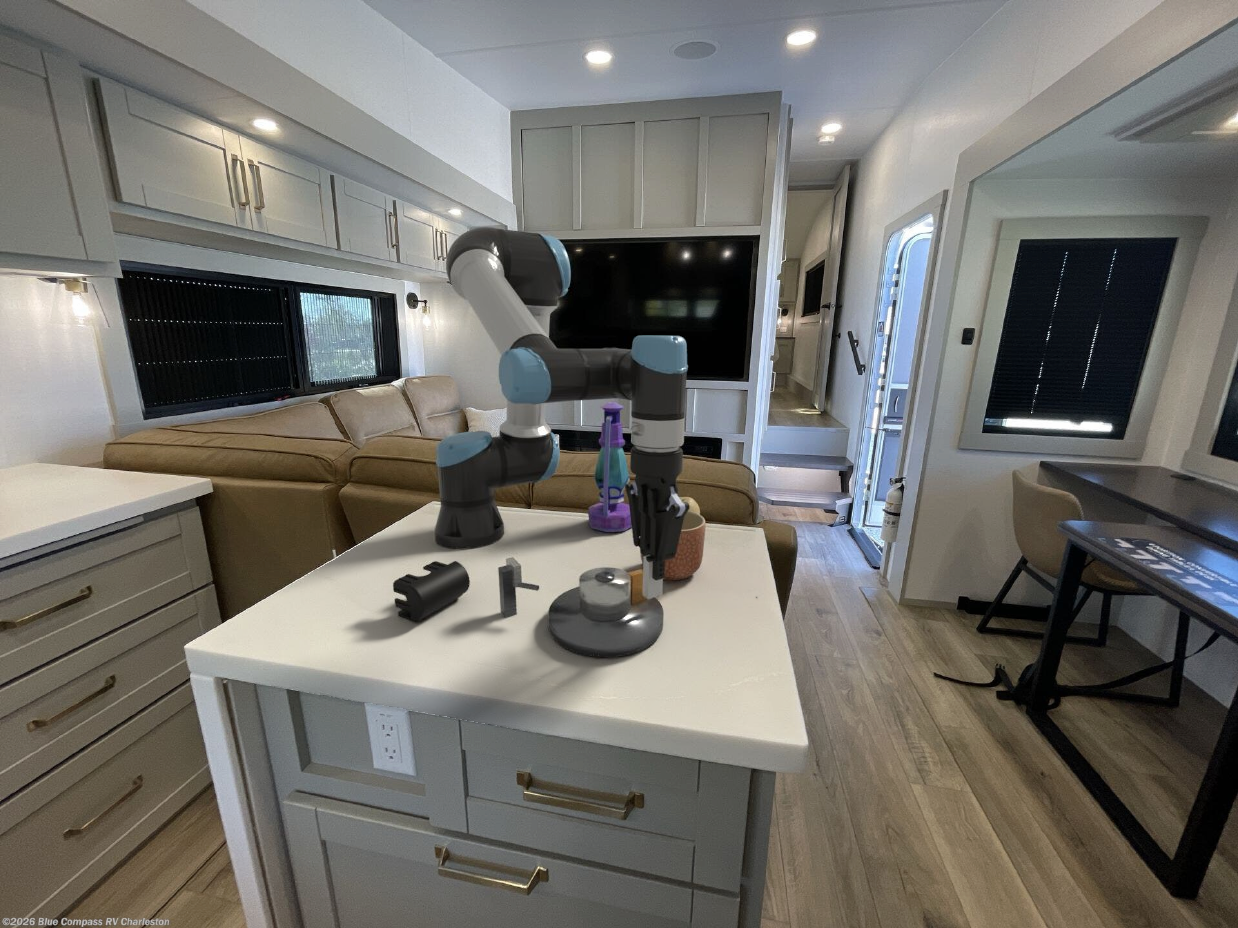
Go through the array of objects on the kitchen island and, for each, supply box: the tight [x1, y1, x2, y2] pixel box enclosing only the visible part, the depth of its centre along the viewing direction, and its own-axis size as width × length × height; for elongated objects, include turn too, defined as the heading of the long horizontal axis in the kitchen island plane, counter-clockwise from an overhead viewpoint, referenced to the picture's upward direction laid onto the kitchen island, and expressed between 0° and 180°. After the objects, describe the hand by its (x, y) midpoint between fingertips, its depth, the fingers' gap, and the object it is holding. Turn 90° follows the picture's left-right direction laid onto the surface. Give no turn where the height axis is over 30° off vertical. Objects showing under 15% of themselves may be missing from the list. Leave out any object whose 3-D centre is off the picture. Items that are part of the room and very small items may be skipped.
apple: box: [678, 496, 701, 515], centre depth 118 cm, size 8×8×8 cm
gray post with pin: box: [497, 556, 540, 618], centre depth 79 cm, size 6×5×9 cm
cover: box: [578, 566, 631, 621], centre depth 77 cm, size 8×8×5 cm
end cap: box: [392, 560, 471, 623], centre depth 81 cm, size 10×7×7 cm
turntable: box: [547, 568, 664, 658], centre depth 76 cm, size 18×18×7 cm
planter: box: [639, 511, 706, 581], centre depth 94 cm, size 12×12×11 cm
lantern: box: [587, 401, 632, 533], centre depth 115 cm, size 13×12×30 cm
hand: (652, 594), depth 76 cm, fingers closed
